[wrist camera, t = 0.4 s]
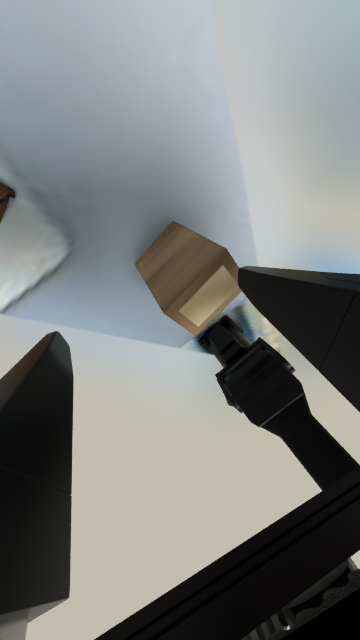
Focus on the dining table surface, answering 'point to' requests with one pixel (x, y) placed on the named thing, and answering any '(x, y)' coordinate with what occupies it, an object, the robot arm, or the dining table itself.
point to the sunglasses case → (4, 198)
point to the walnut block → (189, 276)
